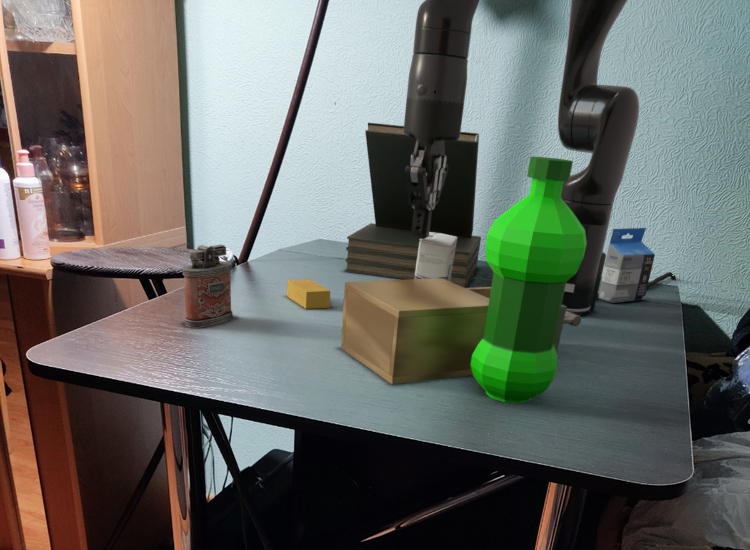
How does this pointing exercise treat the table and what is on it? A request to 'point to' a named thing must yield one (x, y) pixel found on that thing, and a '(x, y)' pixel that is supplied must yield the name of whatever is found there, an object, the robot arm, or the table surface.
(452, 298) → the tan rectangular box
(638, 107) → the robot arm
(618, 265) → the label tape box
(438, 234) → the ink box
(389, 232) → the stack of books
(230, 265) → the lighter
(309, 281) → the yellow block
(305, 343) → the table surface
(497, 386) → the plastic bottle
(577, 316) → the wooden drawer
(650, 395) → the table surface
